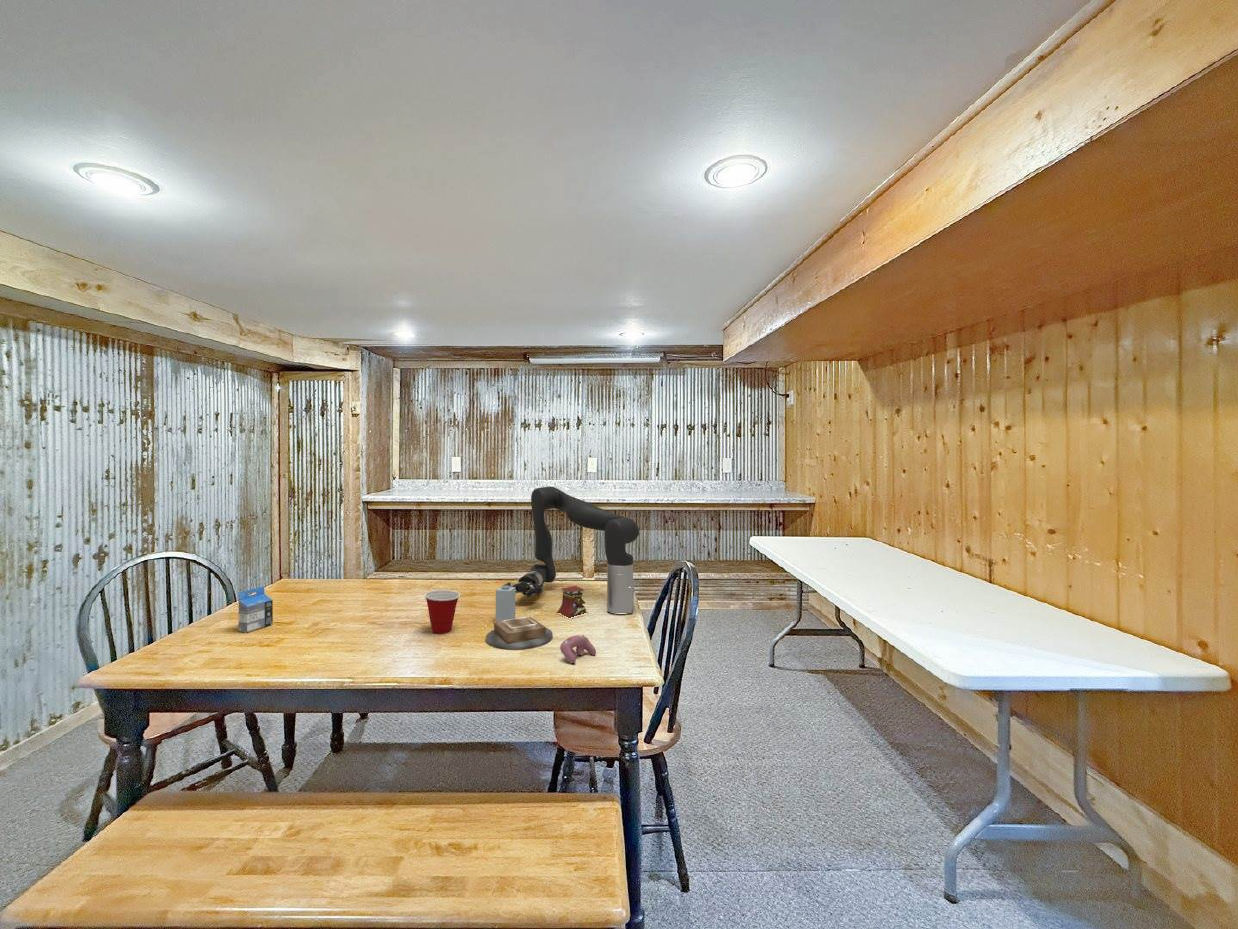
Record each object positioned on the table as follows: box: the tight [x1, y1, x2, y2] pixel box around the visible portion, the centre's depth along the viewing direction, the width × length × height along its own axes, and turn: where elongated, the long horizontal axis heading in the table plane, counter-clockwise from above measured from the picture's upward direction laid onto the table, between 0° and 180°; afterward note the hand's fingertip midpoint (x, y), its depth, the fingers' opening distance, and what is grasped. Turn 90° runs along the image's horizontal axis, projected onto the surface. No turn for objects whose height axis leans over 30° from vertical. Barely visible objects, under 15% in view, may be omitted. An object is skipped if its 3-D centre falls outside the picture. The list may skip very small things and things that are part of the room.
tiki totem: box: [556, 585, 588, 618], centre depth 194 cm, size 9×9×9 cm
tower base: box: [485, 616, 554, 651], centre depth 169 cm, size 20×20×5 cm
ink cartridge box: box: [238, 586, 274, 633], centre depth 176 cm, size 9×4×12 cm, turn 161°
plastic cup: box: [424, 589, 461, 635], centre depth 175 cm, size 11×11×12 cm
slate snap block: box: [495, 584, 516, 623], centre depth 185 cm, size 5×5×12 cm
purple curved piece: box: [559, 634, 597, 664], centre depth 154 cm, size 10×5×7 cm, turn 141°
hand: (516, 593), depth 196 cm, fingers open, 8 cm apart
